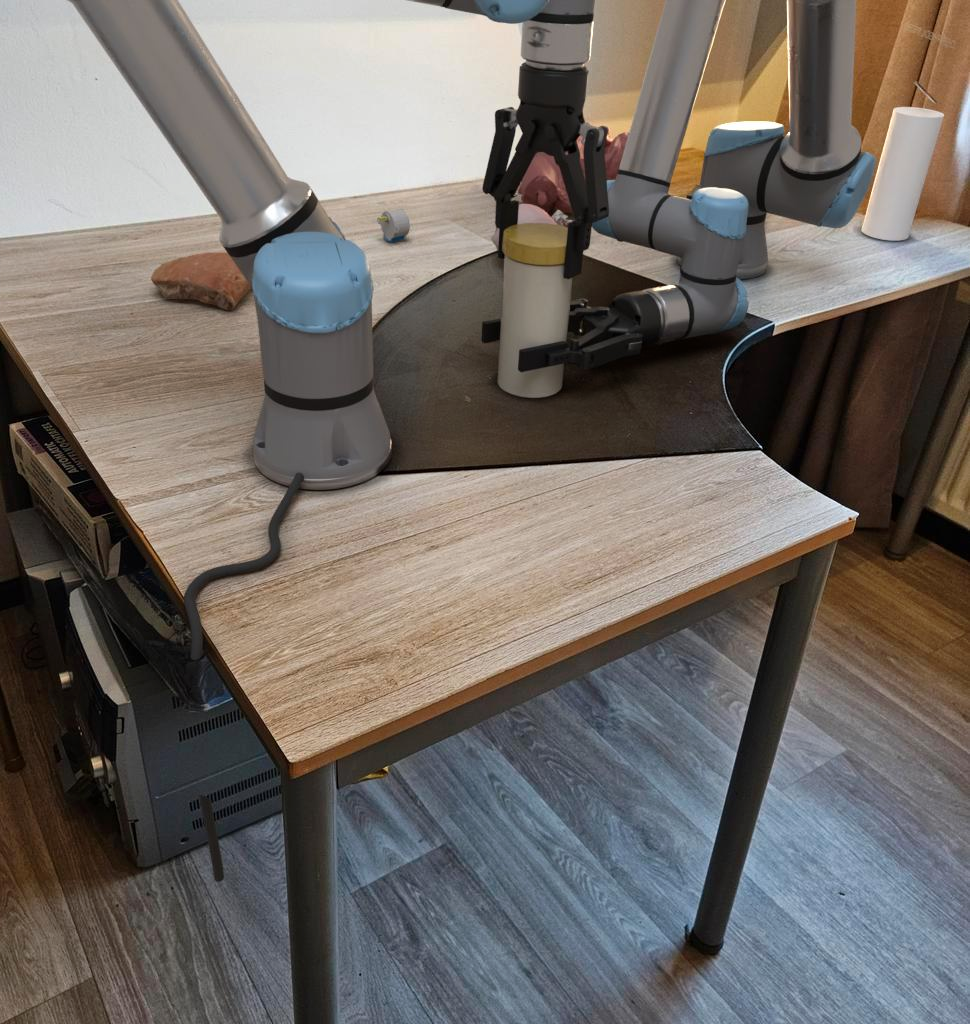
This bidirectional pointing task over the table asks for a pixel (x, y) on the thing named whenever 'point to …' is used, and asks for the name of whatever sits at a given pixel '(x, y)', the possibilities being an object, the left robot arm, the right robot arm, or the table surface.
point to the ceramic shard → (202, 279)
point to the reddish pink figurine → (546, 178)
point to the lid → (535, 243)
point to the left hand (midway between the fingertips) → (538, 265)
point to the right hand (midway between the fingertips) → (501, 346)
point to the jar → (532, 324)
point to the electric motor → (394, 225)
